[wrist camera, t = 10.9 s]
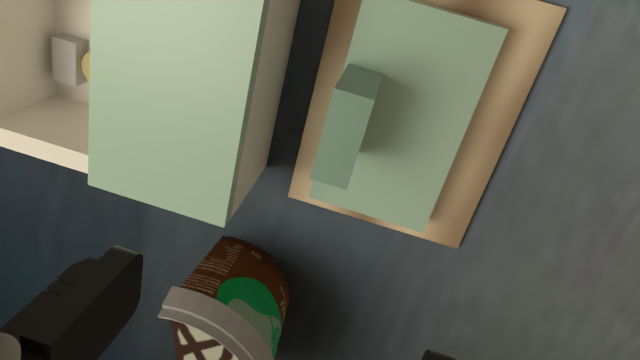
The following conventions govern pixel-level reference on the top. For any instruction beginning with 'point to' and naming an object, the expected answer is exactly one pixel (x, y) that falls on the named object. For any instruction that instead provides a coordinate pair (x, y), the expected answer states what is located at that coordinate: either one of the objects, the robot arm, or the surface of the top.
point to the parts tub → (148, 94)
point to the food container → (229, 305)
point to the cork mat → (486, 122)
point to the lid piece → (402, 108)
